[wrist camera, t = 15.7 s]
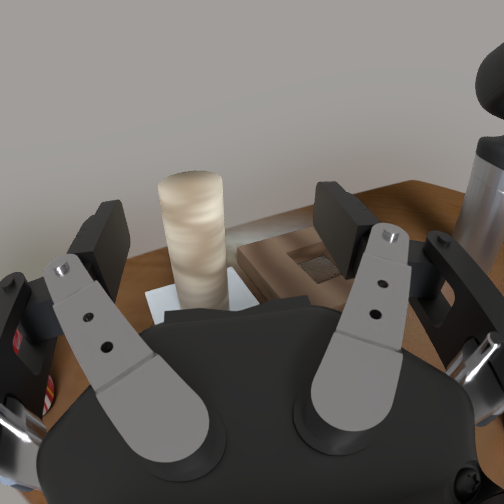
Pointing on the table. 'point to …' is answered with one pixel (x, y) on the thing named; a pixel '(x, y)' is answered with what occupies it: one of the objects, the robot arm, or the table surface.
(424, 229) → the table surface
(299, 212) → the table surface
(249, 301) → the white square tile
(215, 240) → the birch post
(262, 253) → the walnut pocket board
